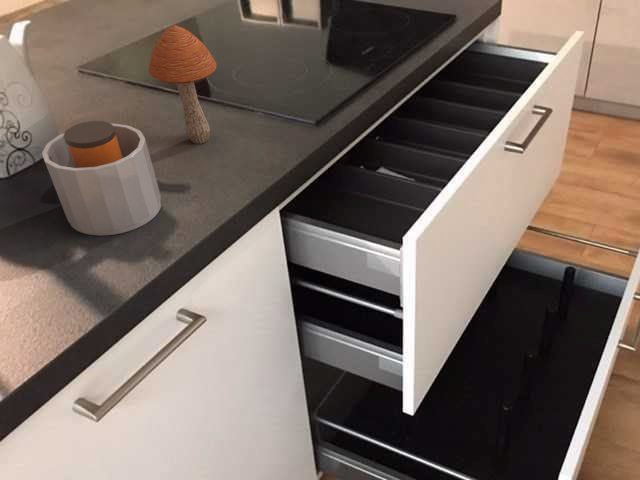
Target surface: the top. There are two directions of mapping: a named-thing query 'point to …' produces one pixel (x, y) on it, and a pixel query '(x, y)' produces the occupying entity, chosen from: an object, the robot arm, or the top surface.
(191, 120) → the mushroom
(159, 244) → the top surface
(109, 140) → the tube
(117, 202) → the faceted grey planter pot
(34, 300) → the top surface
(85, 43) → the top surface
